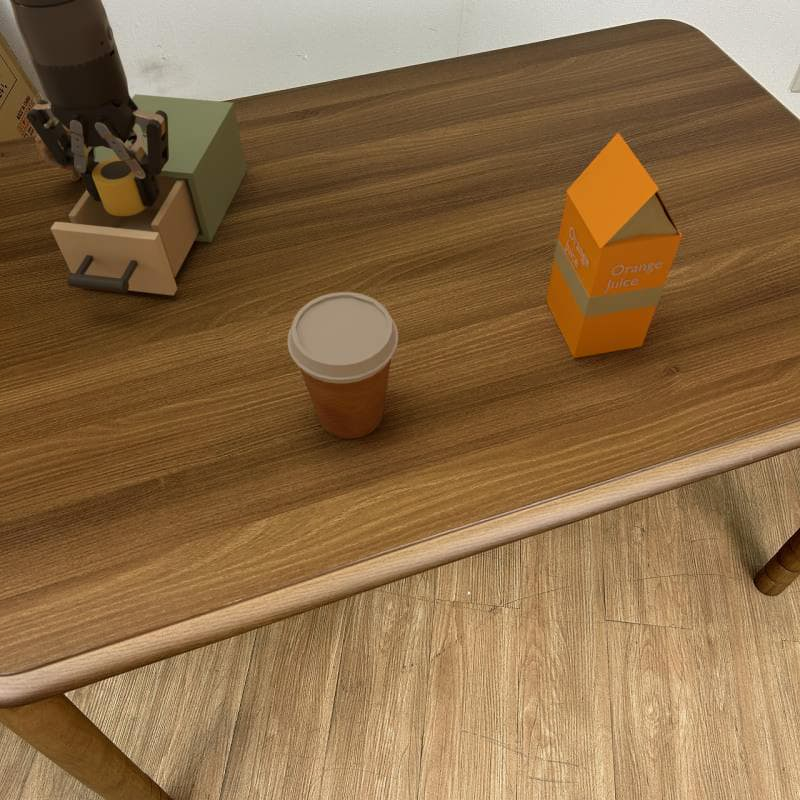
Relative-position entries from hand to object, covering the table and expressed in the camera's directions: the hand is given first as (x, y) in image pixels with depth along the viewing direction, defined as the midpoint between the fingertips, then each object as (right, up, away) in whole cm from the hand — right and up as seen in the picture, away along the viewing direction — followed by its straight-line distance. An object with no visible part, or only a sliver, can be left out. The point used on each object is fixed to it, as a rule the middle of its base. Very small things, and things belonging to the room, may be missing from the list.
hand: (126, 199), depth 80 cm
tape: (0, 0, 0) cm, 0 cm away
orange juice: (+50, -14, 0) cm, 52 cm away
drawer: (0, -6, +5) cm, 8 cm away
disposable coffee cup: (+25, -23, -8) cm, 35 cm away
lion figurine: (-9, +8, +17) cm, 21 cm away
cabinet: (+2, +3, +13) cm, 14 cm away
